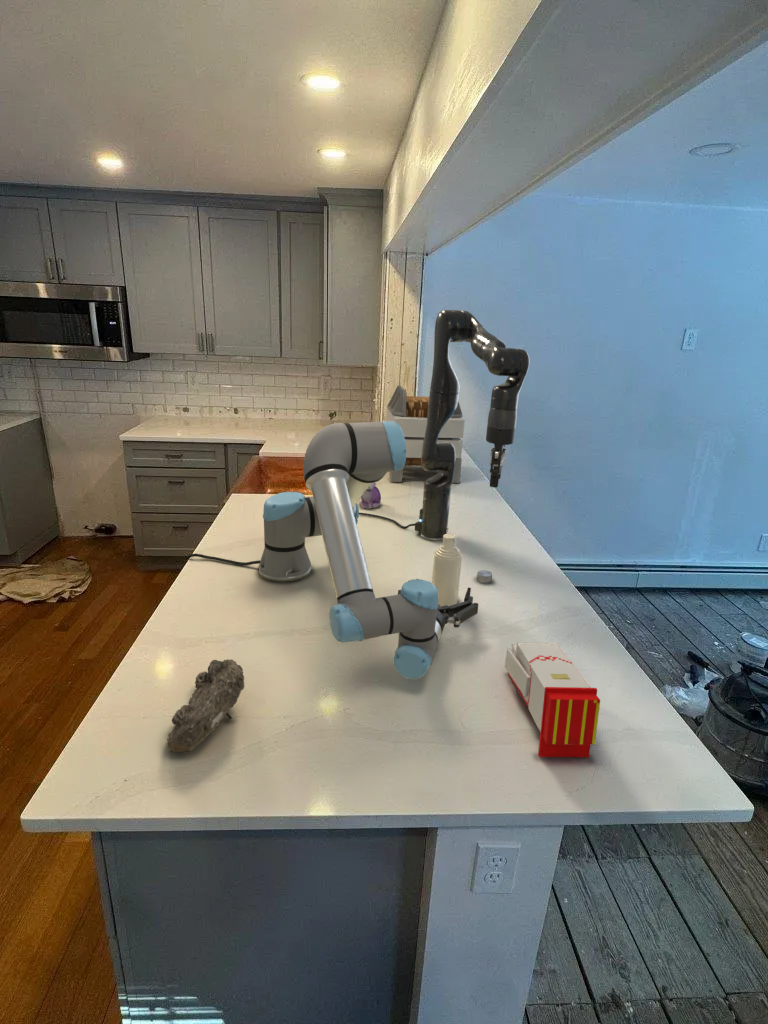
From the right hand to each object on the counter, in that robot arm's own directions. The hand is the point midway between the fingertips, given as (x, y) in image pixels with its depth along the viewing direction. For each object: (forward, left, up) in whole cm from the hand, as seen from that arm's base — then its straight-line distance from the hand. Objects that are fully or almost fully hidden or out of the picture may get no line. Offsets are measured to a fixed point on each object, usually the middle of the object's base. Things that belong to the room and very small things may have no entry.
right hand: (495, 482), depth 158 cm
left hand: (-1, -24, -24) cm, 34 cm away
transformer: (-76, +85, -30) cm, 118 cm away
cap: (0, 0, -28) cm, 28 cm away
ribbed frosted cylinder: (-3, -18, -30) cm, 36 cm away
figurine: (-65, +31, -30) cm, 78 cm away
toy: (+35, -45, -30) cm, 65 cm away
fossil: (-14, -88, -30) cm, 94 cm away
